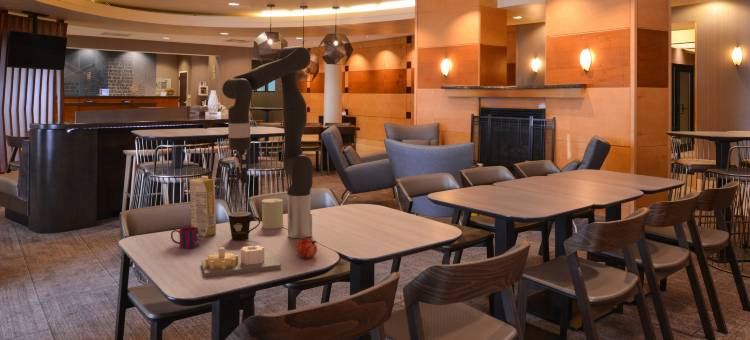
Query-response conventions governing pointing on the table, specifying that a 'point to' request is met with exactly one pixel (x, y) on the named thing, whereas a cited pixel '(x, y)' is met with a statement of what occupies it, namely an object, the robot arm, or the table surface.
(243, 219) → the coffee mug
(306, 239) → the pomegranate
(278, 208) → the can
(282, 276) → the table surface
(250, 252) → the loose gear
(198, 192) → the juice carton
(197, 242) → the cup
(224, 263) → the gear board
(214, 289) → the table surface
